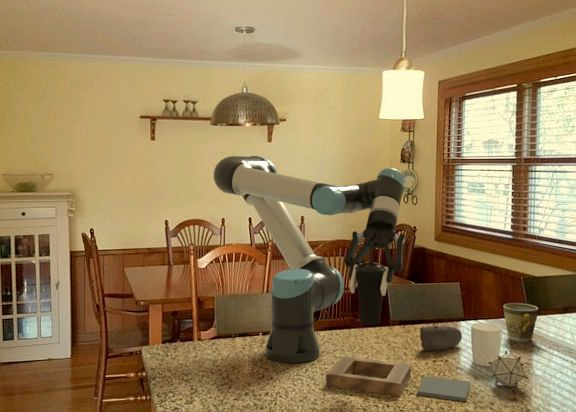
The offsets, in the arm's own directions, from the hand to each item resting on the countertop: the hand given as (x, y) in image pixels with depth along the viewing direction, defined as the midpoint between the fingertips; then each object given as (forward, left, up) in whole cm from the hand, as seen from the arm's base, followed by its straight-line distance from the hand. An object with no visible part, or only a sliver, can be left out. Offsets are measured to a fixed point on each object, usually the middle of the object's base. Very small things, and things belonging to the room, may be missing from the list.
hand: (367, 291), depth 144 cm
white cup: (+26, +29, -24) cm, 45 cm away
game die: (+32, +13, -24) cm, 42 cm away
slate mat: (+18, +5, -23) cm, 30 cm away
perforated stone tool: (+13, +37, -24) cm, 45 cm away
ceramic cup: (+35, +55, -24) cm, 69 cm away
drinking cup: (0, +4, -9) cm, 9 cm away
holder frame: (0, +4, -23) cm, 24 cm away
